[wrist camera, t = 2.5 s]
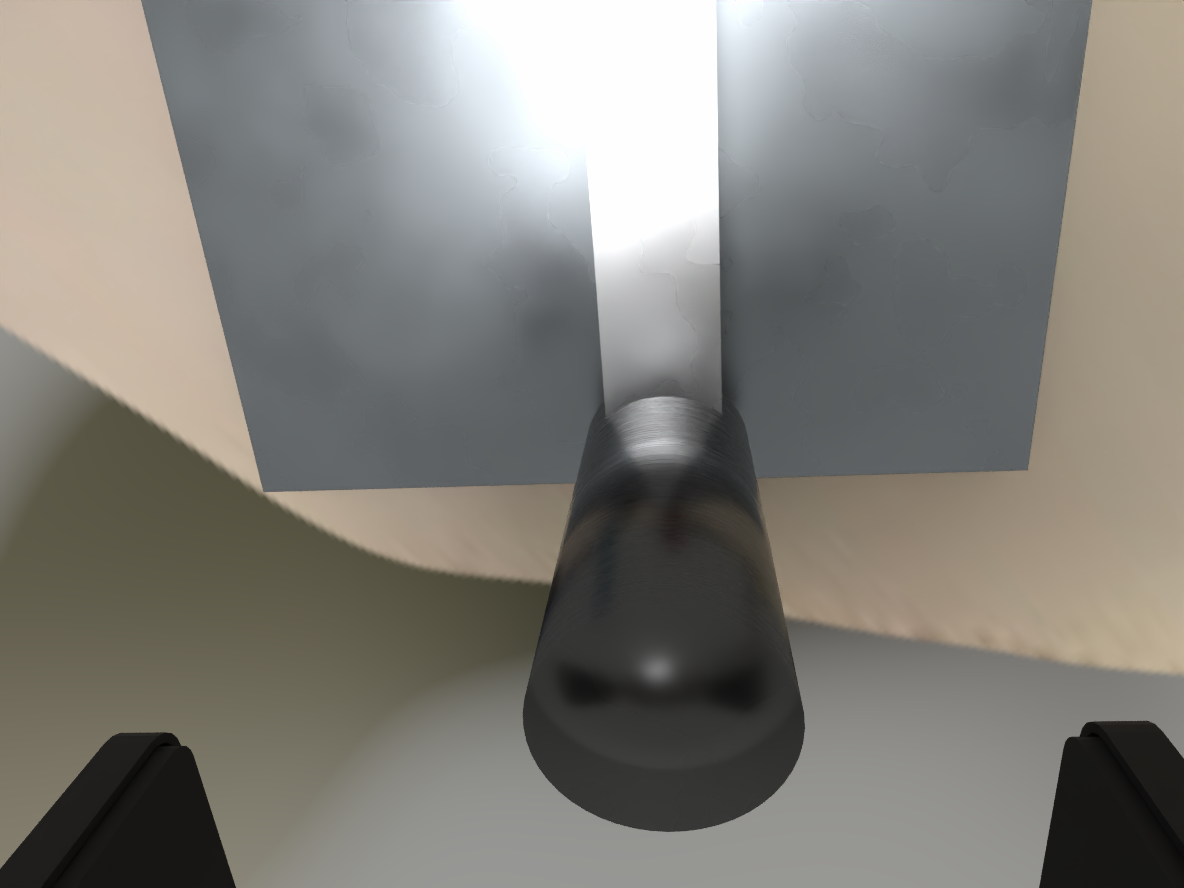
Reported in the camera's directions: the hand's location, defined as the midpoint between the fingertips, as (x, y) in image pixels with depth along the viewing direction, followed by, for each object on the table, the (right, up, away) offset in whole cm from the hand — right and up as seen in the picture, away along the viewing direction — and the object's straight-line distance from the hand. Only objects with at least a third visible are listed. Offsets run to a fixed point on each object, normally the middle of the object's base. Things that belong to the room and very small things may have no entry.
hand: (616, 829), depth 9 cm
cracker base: (0, +13, +8) cm, 15 cm away
